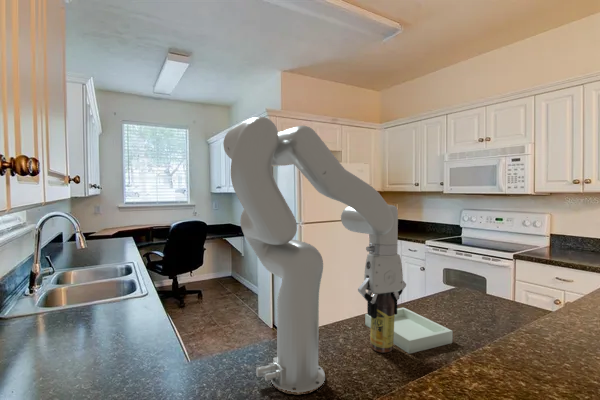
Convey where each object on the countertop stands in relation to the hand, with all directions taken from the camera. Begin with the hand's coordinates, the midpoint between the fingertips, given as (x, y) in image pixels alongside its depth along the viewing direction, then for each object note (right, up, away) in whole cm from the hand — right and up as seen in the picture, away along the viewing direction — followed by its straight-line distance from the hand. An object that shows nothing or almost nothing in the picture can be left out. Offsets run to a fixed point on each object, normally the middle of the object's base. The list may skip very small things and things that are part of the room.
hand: (382, 314), depth 86 cm
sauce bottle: (0, -10, 0) cm, 10 cm away
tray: (+10, -10, +10) cm, 17 cm away
